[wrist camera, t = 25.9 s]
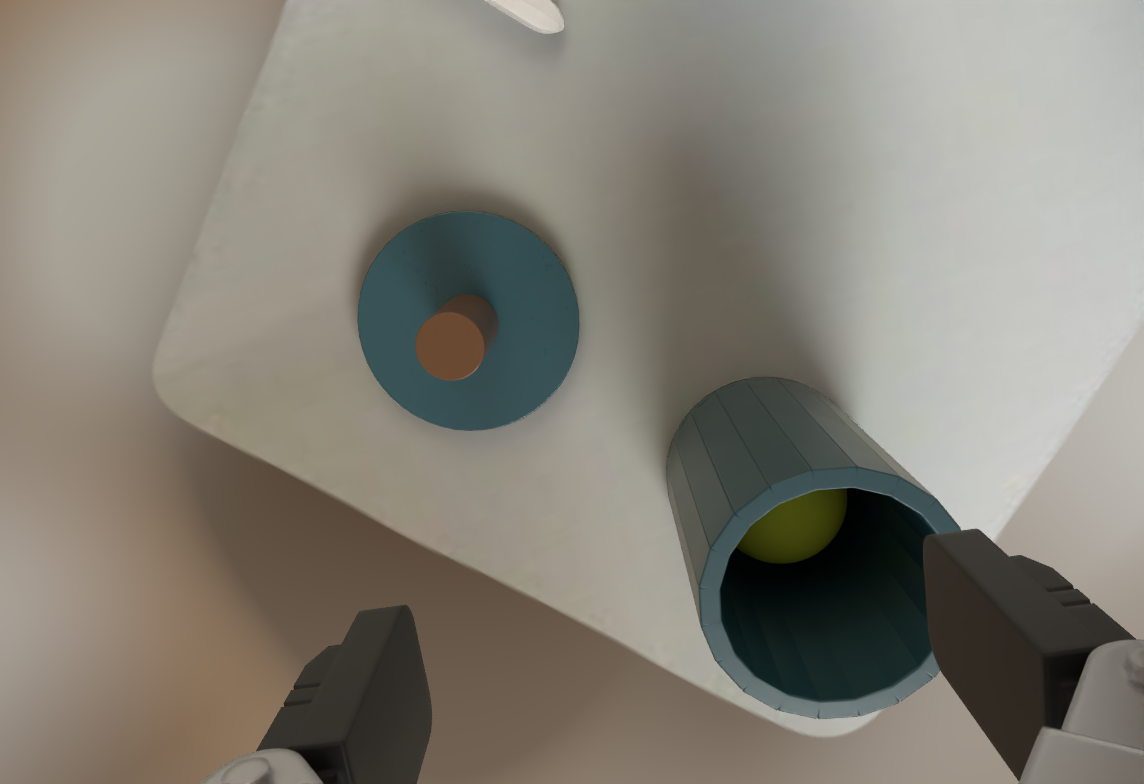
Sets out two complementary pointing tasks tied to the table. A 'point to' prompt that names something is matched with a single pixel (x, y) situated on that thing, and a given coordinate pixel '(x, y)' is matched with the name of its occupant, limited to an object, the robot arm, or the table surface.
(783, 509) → the tennis ball
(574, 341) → the tube lid
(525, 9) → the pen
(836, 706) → the tube
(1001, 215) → the table surface
